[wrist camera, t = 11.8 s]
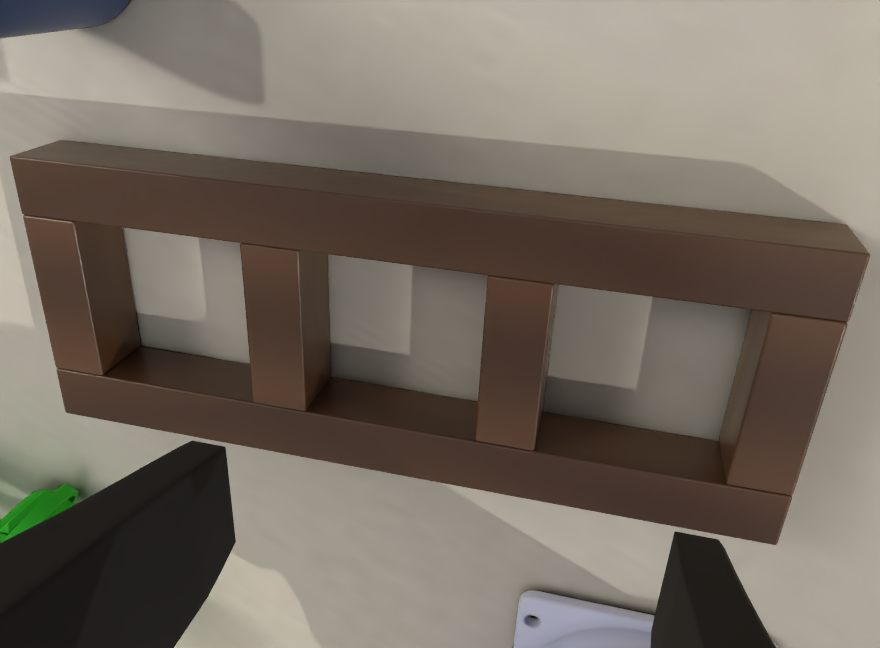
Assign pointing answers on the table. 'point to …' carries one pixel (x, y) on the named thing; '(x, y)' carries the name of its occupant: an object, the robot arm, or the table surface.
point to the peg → (54, 15)
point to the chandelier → (37, 510)
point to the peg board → (504, 336)
